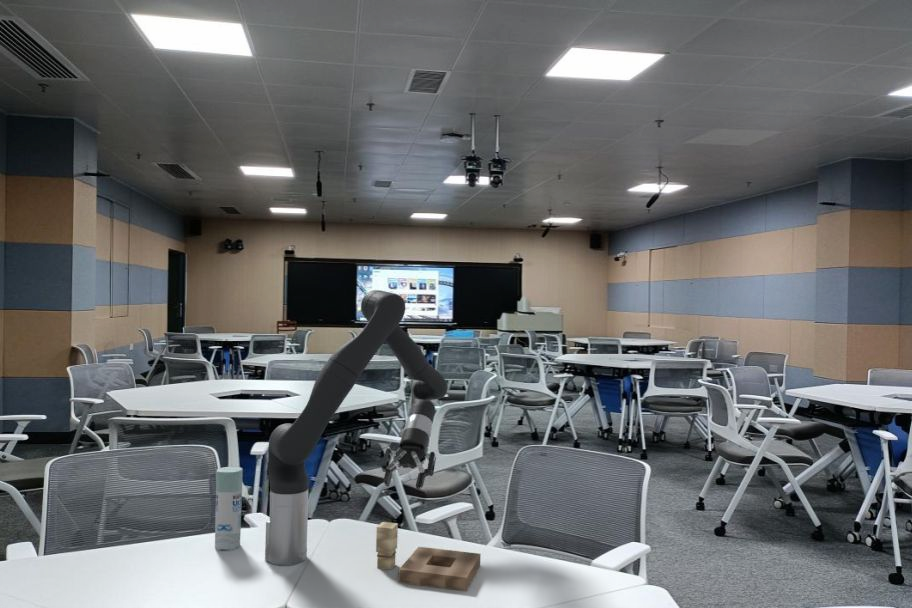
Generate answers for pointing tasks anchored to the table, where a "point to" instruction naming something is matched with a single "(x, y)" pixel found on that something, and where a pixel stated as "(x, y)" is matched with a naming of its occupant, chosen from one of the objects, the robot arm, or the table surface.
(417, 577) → the walnut board
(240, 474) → the spray paint can
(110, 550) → the table surface
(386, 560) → the oak peg
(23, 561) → the table surface
